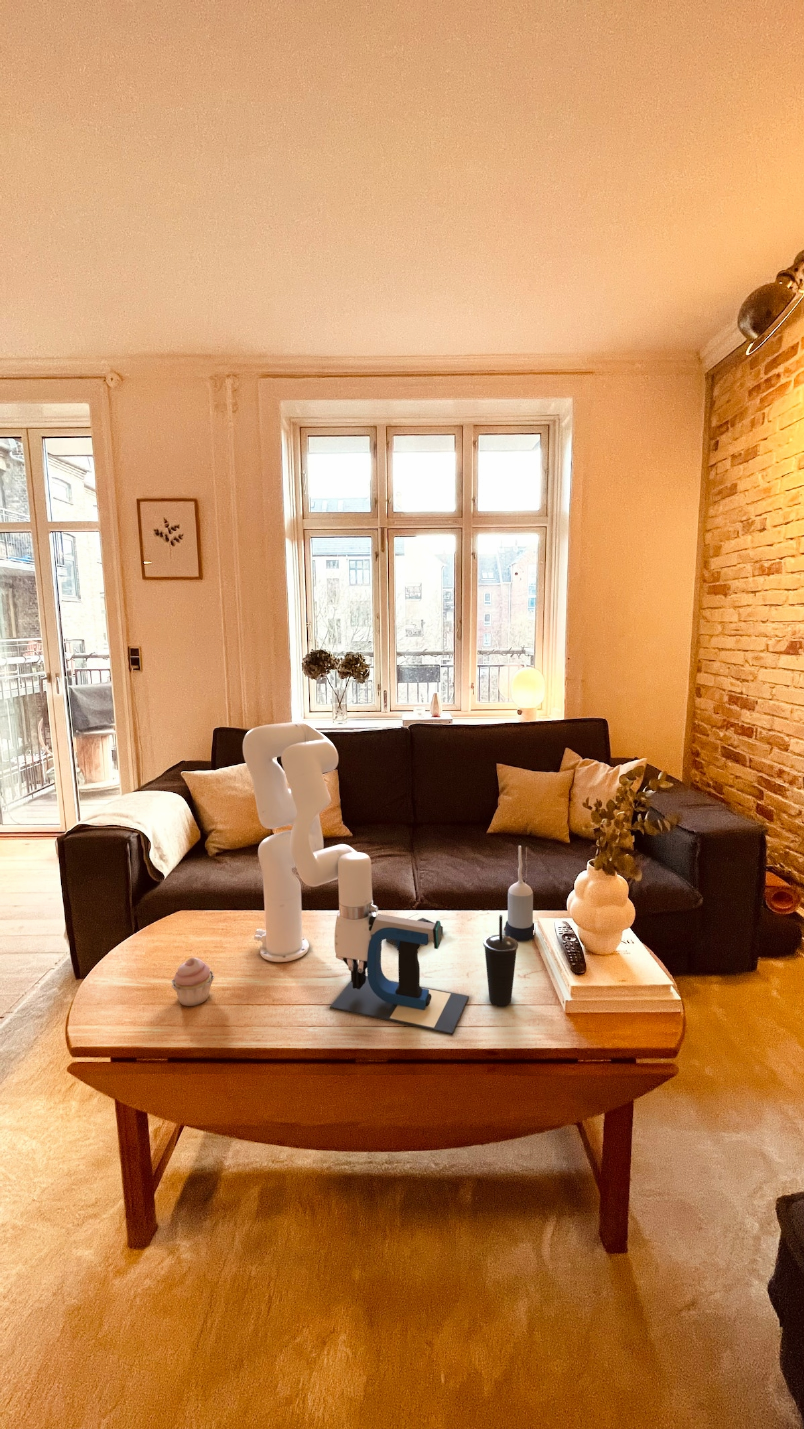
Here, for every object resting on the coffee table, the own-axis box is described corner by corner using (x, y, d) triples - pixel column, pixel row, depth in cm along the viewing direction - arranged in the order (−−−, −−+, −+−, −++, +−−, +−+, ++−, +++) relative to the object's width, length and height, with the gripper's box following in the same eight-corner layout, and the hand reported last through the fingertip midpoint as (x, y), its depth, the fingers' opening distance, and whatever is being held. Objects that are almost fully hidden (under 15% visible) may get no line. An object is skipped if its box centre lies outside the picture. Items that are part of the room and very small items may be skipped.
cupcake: (163, 1006, 135) (160, 963, 133) (191, 984, 143) (189, 944, 142) (196, 1015, 131) (194, 971, 130) (223, 992, 140) (222, 951, 139)
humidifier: (501, 928, 169) (501, 842, 167) (529, 926, 170) (530, 840, 168) (509, 942, 161) (510, 852, 159) (539, 940, 162) (540, 850, 160)
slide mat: (329, 1008, 133) (329, 1006, 133) (356, 975, 146) (356, 974, 146) (452, 1034, 123) (452, 1032, 123) (468, 997, 136) (468, 995, 136)
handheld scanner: (435, 1014, 130) (439, 930, 126) (365, 999, 134) (366, 918, 130) (440, 1000, 134) (443, 919, 131) (371, 987, 138) (373, 908, 135)
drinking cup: (509, 1015, 130) (510, 926, 127) (477, 1004, 134) (477, 918, 131) (522, 997, 136) (523, 912, 134) (491, 987, 140) (491, 905, 138)
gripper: (392, 906, 136) (395, 983, 138) (334, 898, 142) (337, 972, 144) (379, 919, 129) (382, 1000, 131) (318, 911, 135) (321, 988, 137)
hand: (358, 985), depth 137 cm, fingers closed
